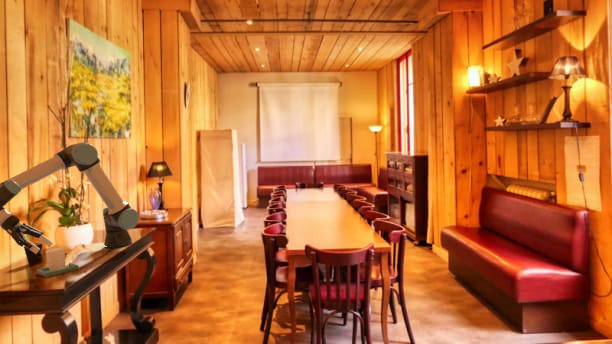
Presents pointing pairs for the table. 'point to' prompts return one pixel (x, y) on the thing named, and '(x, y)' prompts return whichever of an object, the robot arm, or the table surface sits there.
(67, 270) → the tray
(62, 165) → the robot arm
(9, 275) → the table surface
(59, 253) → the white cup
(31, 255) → the coffee mug
